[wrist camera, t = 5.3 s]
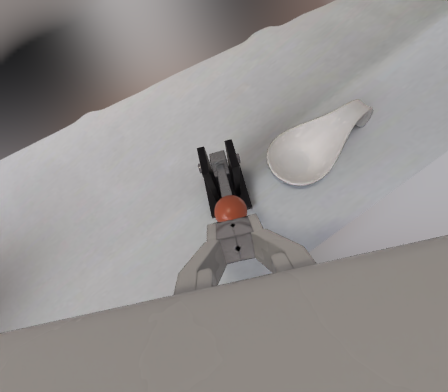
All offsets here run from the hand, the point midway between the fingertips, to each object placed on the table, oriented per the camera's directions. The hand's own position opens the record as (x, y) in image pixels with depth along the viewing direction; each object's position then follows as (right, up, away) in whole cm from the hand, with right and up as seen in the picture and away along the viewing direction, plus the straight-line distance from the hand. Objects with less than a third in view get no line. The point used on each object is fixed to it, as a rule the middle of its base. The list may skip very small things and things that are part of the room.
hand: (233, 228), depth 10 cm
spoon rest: (+19, +12, +25) cm, 33 cm away
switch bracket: (0, +3, +24) cm, 24 cm away
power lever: (0, +2, +11) cm, 11 cm away
